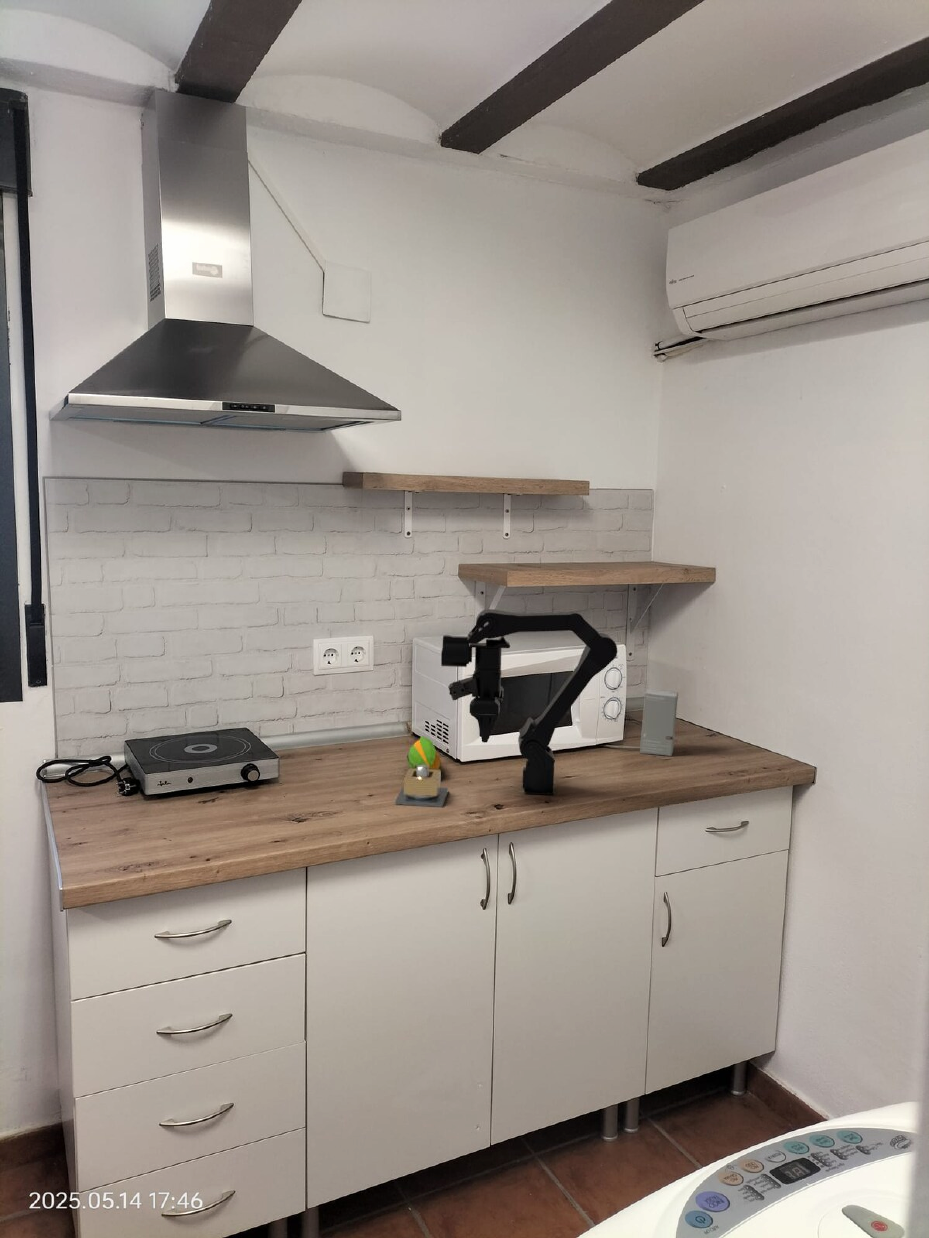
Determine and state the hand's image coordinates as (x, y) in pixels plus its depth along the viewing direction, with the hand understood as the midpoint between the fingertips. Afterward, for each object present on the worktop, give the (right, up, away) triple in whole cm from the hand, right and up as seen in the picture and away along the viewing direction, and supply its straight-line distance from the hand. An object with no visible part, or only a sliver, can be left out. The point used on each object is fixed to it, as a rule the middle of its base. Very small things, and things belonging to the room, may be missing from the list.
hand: (486, 736), depth 201 cm
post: (-14, -13, -5) cm, 19 cm away
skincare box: (+45, -9, +34) cm, 57 cm away
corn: (-15, -10, +15) cm, 24 cm away
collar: (-14, -11, -5) cm, 18 cm away
